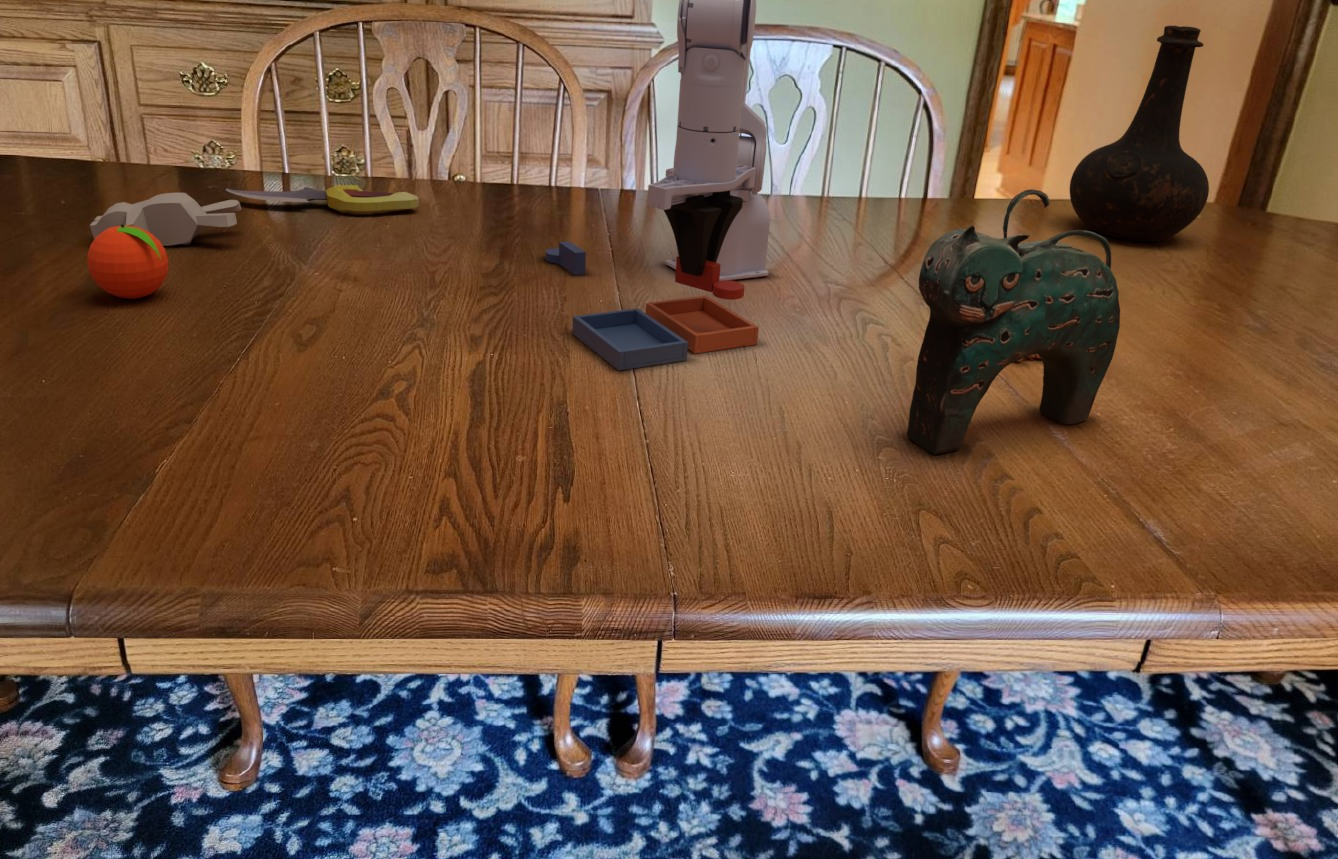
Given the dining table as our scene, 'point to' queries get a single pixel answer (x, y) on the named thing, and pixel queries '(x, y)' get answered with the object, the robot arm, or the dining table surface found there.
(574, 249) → the blue stepped block
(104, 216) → the bunny figurine
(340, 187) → the knife
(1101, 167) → the glass bottle
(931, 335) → the ceramic cat
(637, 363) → the blue tray
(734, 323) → the red tray
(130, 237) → the clementine
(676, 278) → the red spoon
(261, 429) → the dining table surface
